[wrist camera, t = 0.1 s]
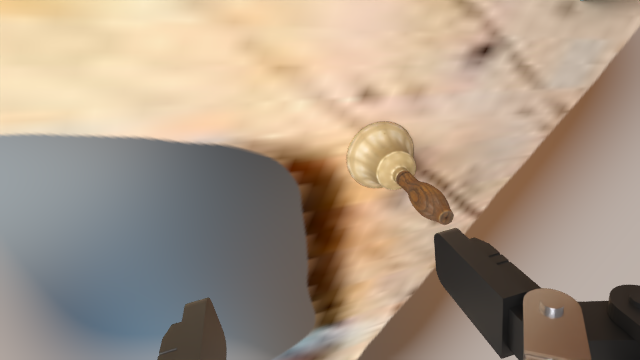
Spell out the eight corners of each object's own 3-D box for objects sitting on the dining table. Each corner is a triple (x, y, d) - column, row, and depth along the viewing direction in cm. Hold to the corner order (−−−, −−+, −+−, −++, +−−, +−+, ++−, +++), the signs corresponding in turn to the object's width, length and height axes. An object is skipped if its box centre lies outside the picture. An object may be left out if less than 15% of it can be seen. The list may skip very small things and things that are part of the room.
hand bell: (361, 199, 46) (419, 277, 31) (335, 142, 42) (386, 201, 28) (421, 168, 46) (506, 232, 31) (399, 108, 42) (484, 150, 28)
